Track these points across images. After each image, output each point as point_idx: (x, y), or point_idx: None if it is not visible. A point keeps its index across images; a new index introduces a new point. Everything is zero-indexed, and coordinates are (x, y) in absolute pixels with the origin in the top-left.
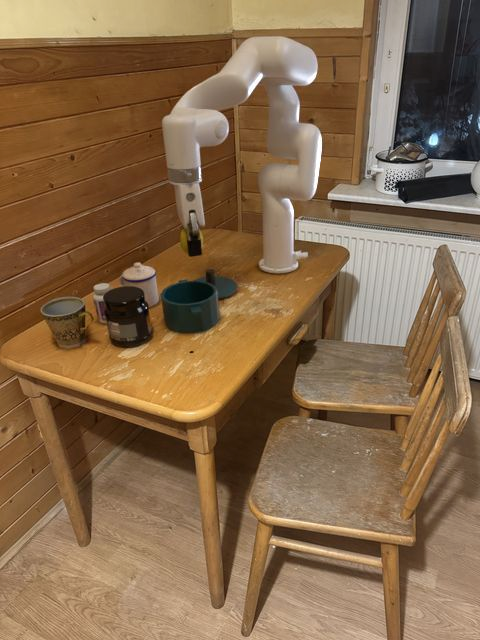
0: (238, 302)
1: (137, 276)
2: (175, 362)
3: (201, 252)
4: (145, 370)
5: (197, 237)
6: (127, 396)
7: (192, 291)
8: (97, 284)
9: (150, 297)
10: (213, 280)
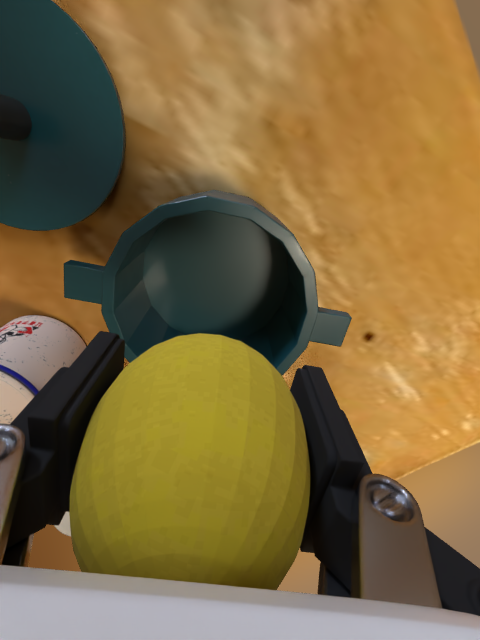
0: (171, 69)
1: None
2: (381, 378)
3: (322, 377)
4: (366, 430)
5: (447, 555)
6: (418, 469)
7: (131, 258)
8: (57, 528)
9: (73, 360)
10: (7, 107)
